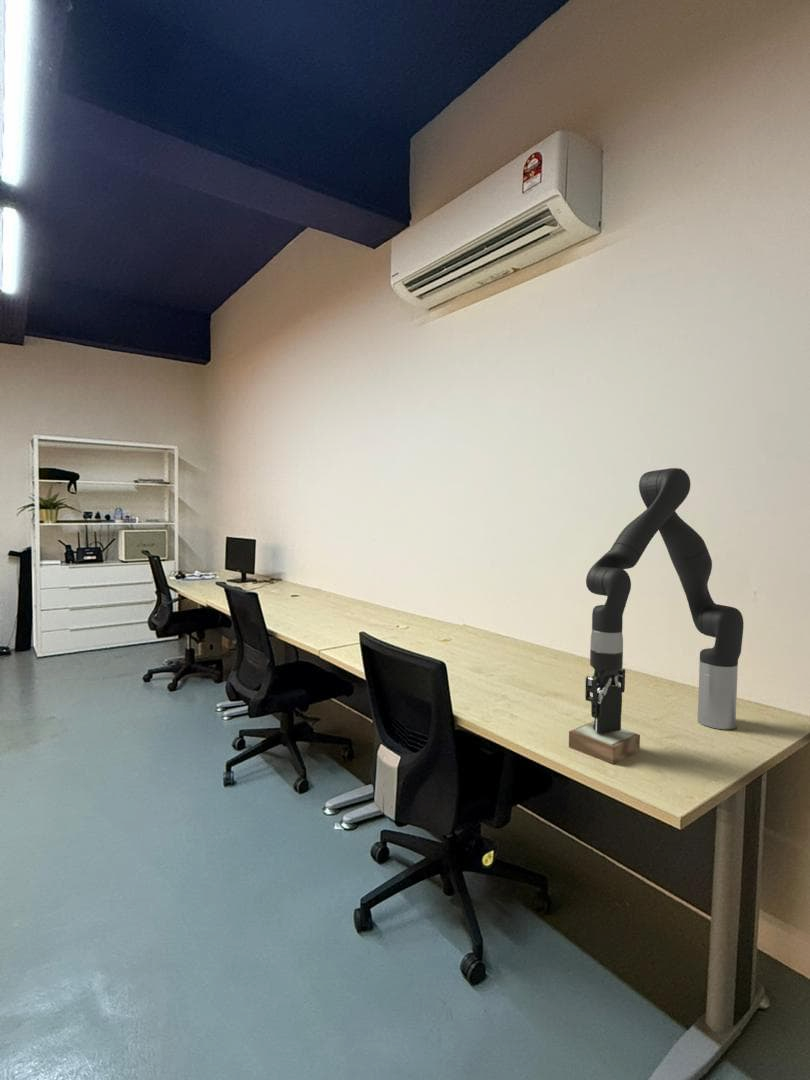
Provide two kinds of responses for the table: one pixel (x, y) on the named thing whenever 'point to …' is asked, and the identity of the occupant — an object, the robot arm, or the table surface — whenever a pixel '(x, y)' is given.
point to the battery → (610, 711)
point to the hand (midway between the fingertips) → (605, 714)
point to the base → (604, 743)
